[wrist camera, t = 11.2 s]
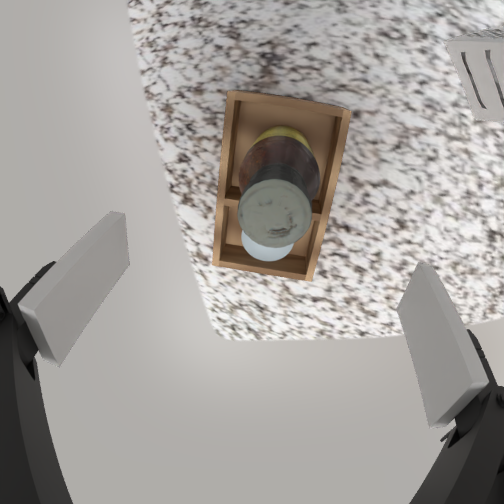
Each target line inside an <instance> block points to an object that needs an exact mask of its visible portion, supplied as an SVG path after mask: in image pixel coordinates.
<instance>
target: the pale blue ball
mask: <svg viewBox="0 0 504 504" xmlns="http://www.w3.org/2000/svg"><path fill="white" fill-rule="evenodd" d="M241 238H242V244H243V246H244V248H245V250H246V251H247V252H248V253H249V254H250V255H251V256H253V257H254V258H256V259H259V260H262V261H276V260H279V259H281V258H283V257H285V256H286V255H287V254H288V253H289V252H290V251H291V249H292V247H293V244H294V243H292V244H291V245H287V246H285V247H282V248H271V247H265V246H262V245H259V244H257V243H255V242H254V241H252V240H251V239H250V238H249V237H248V236H247V235H246V234H245V233H244V231H243V230H242V236H241Z"/></svg>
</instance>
